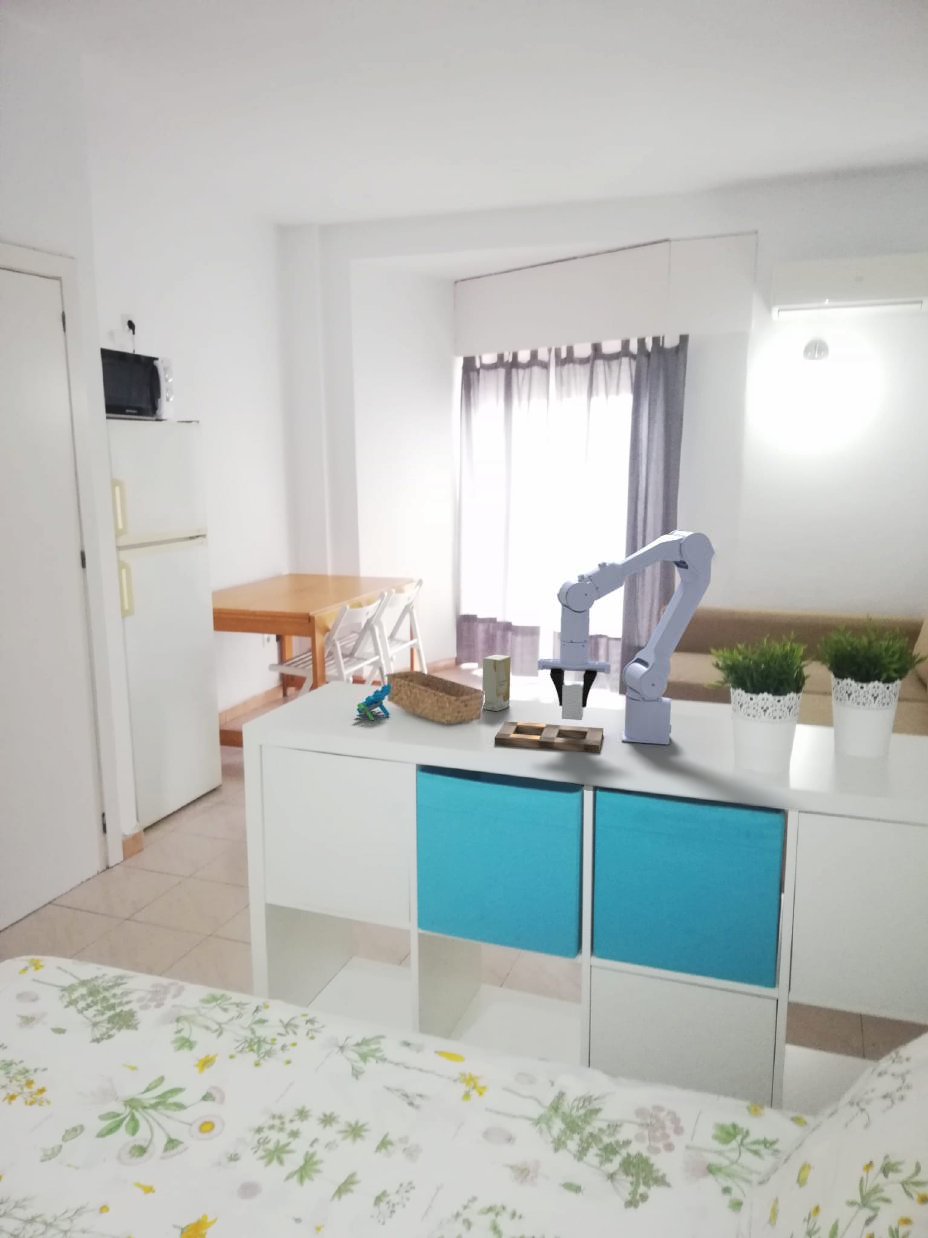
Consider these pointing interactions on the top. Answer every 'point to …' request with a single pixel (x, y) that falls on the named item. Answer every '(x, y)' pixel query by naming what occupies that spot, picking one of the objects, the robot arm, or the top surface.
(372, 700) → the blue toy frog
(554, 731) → the socket plate
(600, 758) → the top surface
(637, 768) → the top surface
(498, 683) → the skincare box
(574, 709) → the steel block
